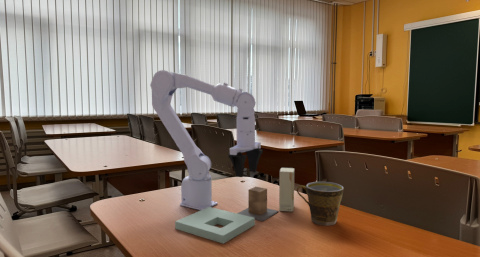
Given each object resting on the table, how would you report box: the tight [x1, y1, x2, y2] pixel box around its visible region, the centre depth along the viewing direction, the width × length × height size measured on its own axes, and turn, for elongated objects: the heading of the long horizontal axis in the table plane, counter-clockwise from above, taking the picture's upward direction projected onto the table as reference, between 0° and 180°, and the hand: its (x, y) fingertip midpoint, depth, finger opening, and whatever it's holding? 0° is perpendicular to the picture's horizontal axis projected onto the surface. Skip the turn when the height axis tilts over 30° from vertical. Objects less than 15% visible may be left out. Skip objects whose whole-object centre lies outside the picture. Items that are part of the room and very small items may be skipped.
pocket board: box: [174, 206, 256, 244], centre depth 92 cm, size 16×14×2 cm
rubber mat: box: [236, 207, 279, 222], centre depth 102 cm, size 9×9×1 cm
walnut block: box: [247, 186, 268, 215], centre depth 101 cm, size 4×4×7 cm
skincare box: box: [278, 167, 295, 212], centre depth 106 cm, size 6×4×12 cm
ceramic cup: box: [296, 181, 345, 227], centre depth 96 cm, size 13×10×10 cm
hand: (246, 174), depth 108 cm, fingers open, 7 cm apart
